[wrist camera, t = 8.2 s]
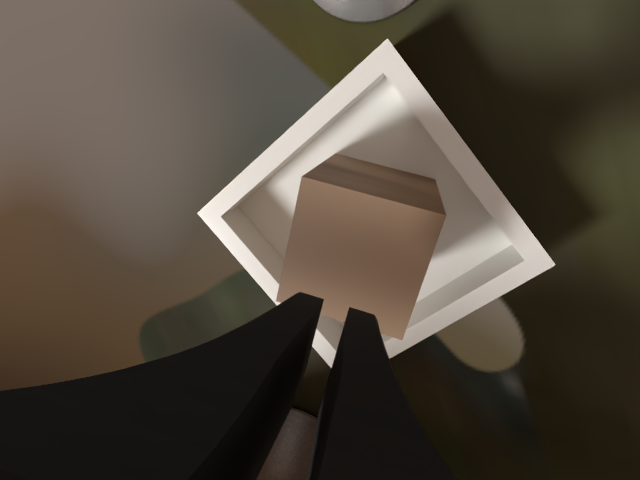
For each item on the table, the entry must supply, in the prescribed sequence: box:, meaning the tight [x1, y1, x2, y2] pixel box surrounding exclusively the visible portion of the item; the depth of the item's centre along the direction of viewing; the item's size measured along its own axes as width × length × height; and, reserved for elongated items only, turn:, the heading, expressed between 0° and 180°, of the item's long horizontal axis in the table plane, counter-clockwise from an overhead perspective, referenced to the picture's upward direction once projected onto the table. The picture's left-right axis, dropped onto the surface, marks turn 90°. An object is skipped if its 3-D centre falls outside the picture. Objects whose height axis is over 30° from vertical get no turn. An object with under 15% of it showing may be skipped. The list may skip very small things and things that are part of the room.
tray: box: [197, 39, 555, 368], centre depth 18 cm, size 11×11×3 cm
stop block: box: [276, 153, 446, 340], centre depth 16 cm, size 4×4×6 cm
